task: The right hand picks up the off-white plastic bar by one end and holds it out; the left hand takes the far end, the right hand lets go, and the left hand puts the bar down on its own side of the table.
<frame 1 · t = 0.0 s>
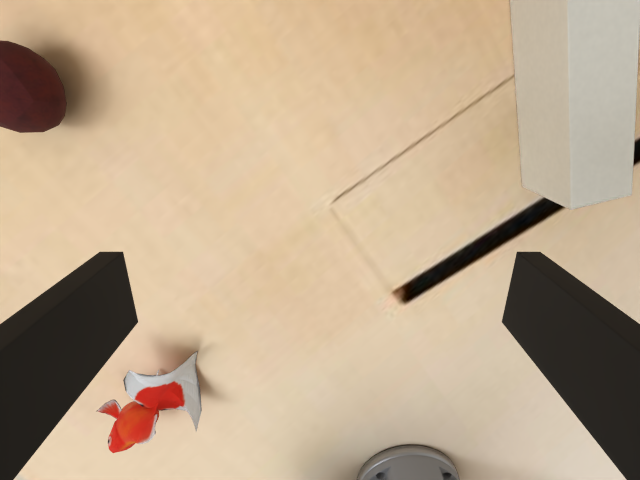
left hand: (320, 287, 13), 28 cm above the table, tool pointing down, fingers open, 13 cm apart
bar: (541, 71, 36), on the table
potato: (45, 90, 36), on the table
fish: (165, 376, 49), on the table
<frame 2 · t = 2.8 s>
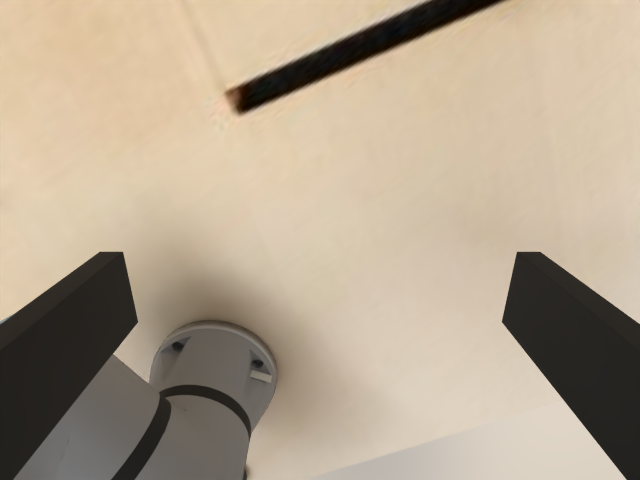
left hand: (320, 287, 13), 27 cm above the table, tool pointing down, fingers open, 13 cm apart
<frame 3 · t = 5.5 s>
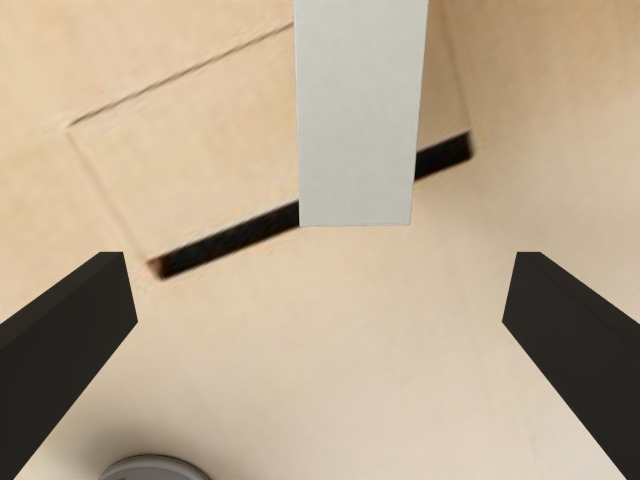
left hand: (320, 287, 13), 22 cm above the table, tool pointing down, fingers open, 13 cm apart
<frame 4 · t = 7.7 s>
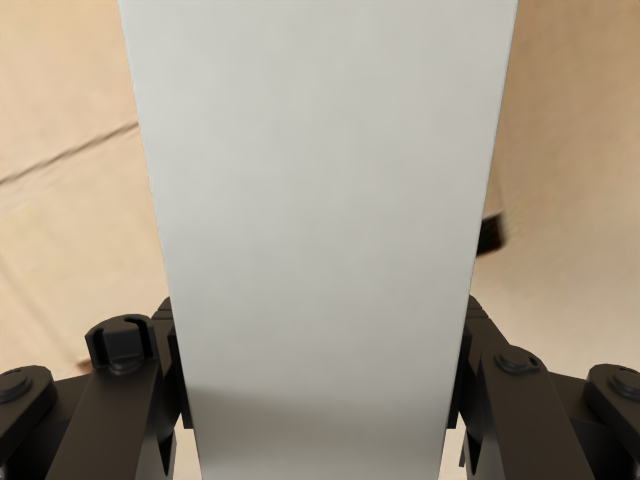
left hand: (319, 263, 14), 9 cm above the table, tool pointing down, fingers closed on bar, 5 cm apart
bar: (318, 55, 12), point 9 cm above the table, touching left hand, right hand
when the right hand's fingers open (12 cm above the table, at t = 8.5 s): bar stays where it is, held by the left hand.
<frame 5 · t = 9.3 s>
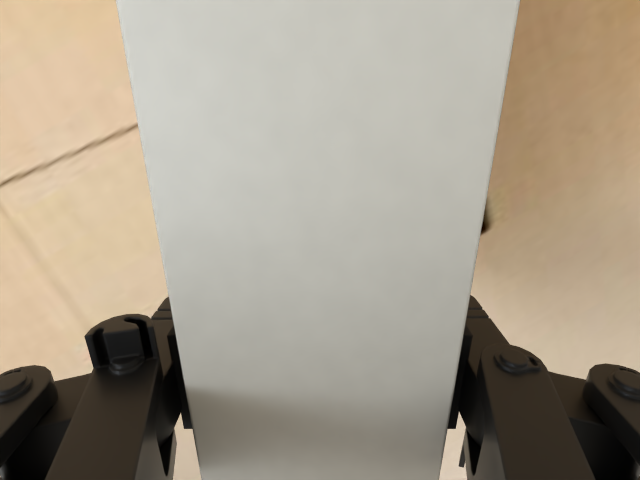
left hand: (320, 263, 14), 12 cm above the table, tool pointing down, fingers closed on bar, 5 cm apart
bar: (318, 55, 12), point 11 cm above the table, touching left hand
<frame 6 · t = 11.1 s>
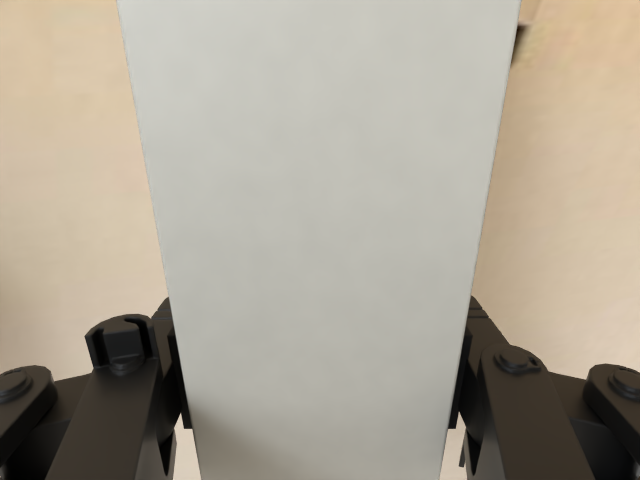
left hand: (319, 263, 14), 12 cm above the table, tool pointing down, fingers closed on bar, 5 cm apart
bar: (319, 55, 12), point 11 cm above the table, touching left hand
when the left hand's fingers open (2 cm above the table, at t = 12.7 s): bar stays where it is, on the table.
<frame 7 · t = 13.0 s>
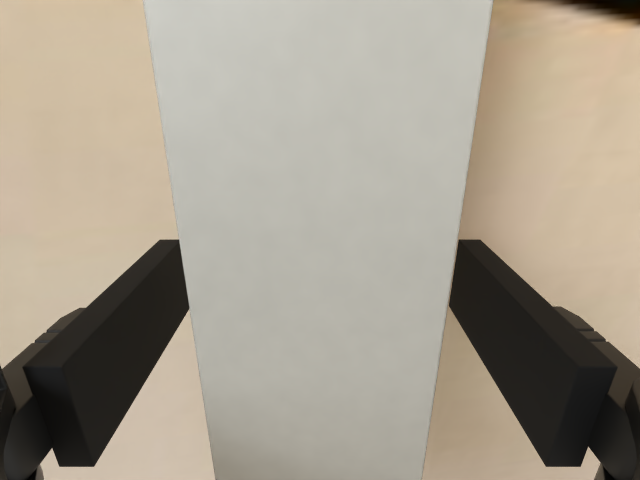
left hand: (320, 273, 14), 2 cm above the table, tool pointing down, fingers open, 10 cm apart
bar: (319, 60, 13), on the table
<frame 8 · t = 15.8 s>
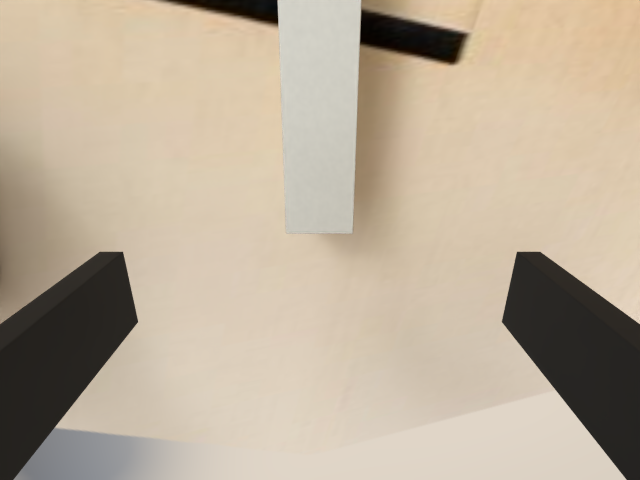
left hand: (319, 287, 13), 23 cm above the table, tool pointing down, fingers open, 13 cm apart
bar: (319, 78, 32), on the table
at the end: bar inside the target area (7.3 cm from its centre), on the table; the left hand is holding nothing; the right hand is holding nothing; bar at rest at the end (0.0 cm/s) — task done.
